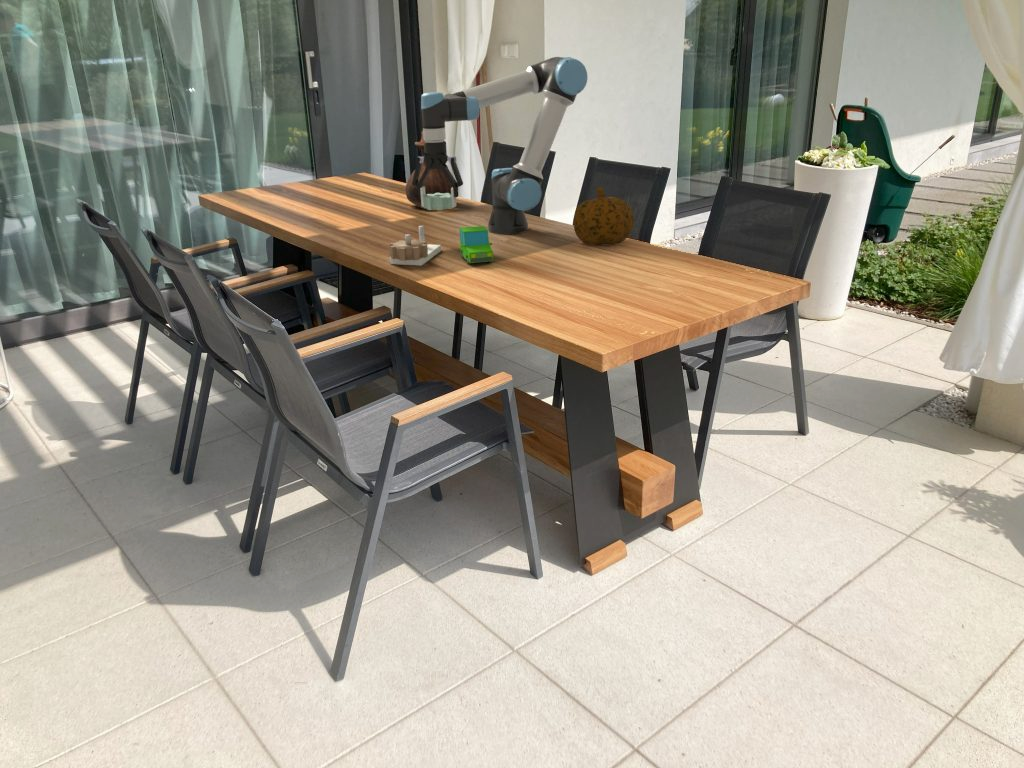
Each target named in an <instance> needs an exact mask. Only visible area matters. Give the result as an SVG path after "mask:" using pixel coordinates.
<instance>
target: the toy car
mask: <svg viewBox="0 0 1024 768" xmlns="http://www.w3.org/2000/svg"><path fill="white" fill-rule="evenodd" d="M459 242H460V243H459V246H460V247H459V248H460V255H461V258H462V259H463V260H466V264H467V265H472V264H475V263H476V264H477V263H488V264H489V263H492V262H494V252H493V249H492V247H491V246H492V245H493V243H492V242H490V238H489V230H488V229H487V228H486V227H485V226H484V225H480V226H479V225H478V226H466V227H459Z"/></svg>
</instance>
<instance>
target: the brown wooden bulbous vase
mask: <svg viewBox="0 0 1024 768" xmlns="http://www.w3.org/2000/svg"><path fill="white" fill-rule="evenodd" d="M424 142H426V141H425V140H424V138H423V131H421V139H420V141H415V142H414V145H415V146H416V147H417V148H419V149H420V151H421V157H424V156H425V152H424ZM426 166H427V163H426V162H425V161H423V163H422V166H421V171H420V175H419V180H418V182H419V181H420V179H421V177H422V175H423V173H424V171H425V168H426ZM414 173H415V169H414V170H413V172H412V173H410V176H409V178H408V180H407V182H406V184H405V195H406V198H407V200H408V202H410V203H411V204H413V205H415V206H417V207H418V208H421V209H426V210H427V208H424V207H422V205H421V197H419V196H418V187H417V186H413V185H412V182H413V177H414ZM422 187H425V195H426V194H435V193H450V195H451V188H453V186H452V185H451V183H450V181H449V180H448V178H447V177H446V175H445V174H444V172H443V171H442V170H441V169H431V170H430V172H429V174H428V176H427V178H426V180H425V182H424V184H423V186H422Z"/></svg>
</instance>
